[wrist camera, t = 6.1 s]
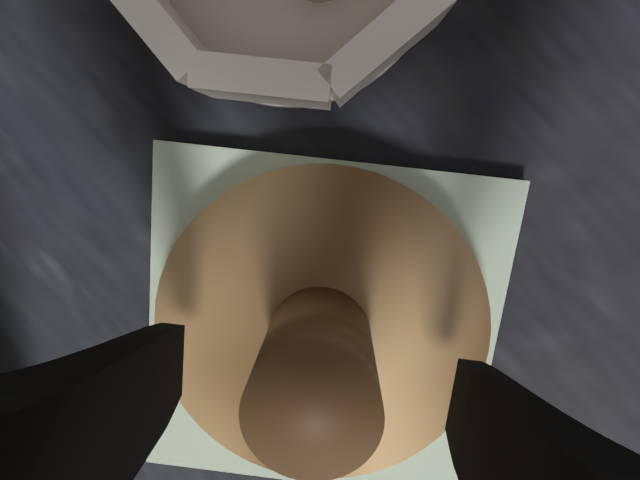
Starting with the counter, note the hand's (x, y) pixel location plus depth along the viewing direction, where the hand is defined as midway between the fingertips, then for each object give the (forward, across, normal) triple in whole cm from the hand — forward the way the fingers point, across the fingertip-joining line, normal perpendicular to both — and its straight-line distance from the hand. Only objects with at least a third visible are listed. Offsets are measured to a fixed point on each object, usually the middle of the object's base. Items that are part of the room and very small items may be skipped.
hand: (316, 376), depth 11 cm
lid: (+2, 0, 0) cm, 3 cm away
